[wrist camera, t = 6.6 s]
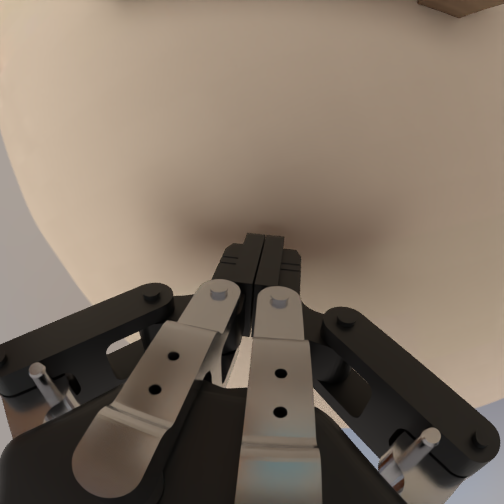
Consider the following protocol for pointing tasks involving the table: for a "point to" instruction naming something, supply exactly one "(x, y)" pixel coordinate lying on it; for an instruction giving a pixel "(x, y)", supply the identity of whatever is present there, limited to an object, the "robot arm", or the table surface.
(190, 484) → the robot arm
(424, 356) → the table surface
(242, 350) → the table surface
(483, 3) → the bridge
